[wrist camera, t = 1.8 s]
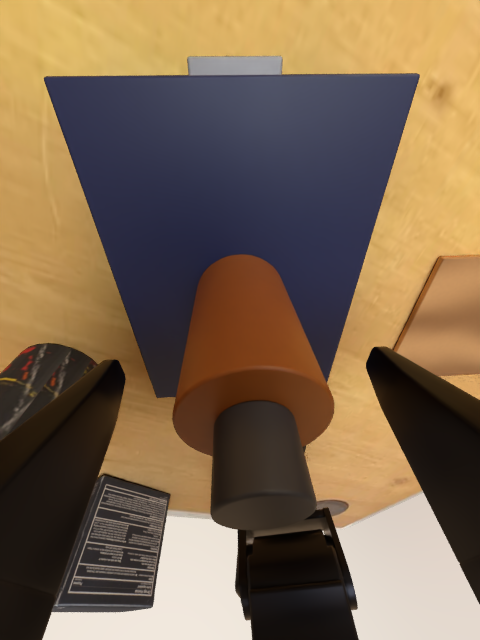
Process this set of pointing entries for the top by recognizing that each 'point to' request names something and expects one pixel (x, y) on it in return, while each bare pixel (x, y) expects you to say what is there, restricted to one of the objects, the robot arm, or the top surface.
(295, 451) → the bottle
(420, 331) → the coaster
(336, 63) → the top surface
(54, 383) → the deodorant
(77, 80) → the case
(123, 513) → the small box
